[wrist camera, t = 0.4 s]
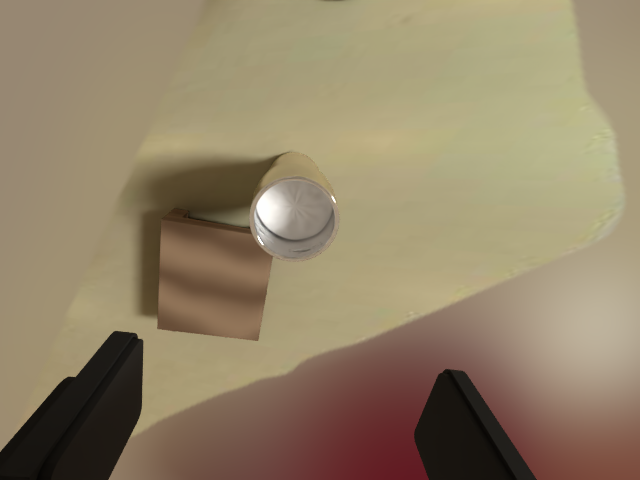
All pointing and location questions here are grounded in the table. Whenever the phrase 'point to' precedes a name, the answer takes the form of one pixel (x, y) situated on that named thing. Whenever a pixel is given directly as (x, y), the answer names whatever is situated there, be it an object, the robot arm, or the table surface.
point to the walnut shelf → (211, 278)
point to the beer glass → (294, 209)
